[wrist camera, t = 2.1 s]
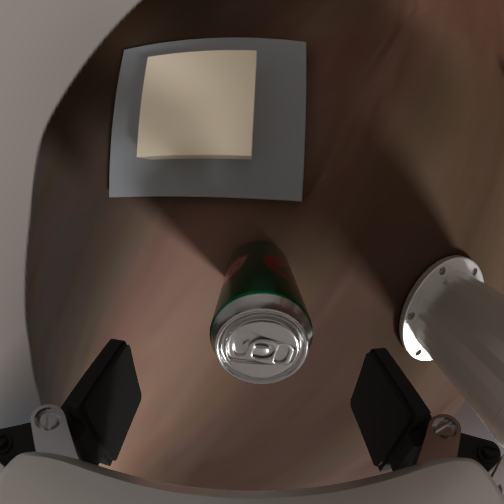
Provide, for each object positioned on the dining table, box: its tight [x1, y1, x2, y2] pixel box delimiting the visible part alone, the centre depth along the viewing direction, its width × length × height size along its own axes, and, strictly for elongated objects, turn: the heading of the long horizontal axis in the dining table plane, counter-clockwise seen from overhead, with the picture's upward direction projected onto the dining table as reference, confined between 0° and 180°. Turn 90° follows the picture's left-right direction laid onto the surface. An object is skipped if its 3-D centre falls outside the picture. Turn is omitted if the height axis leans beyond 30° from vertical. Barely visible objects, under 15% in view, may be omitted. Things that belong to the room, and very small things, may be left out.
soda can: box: [210, 242, 313, 384], centre depth 18 cm, size 5×5×12 cm
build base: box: [109, 37, 306, 202], centre depth 18 cm, size 16×14×4 cm
